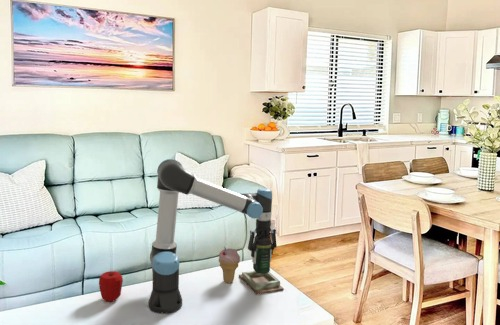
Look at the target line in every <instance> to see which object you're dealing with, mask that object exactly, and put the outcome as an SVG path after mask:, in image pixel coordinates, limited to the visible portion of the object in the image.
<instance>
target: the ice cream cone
mask: <svg viewBox="0 0 500 325" xmlns="http://www.w3.org/2000/svg"><path fill="white" fill-rule="evenodd" d="M238 251H240V249H237V248H236V249H235V248H229V247H228V248H226V247H224V249H222V250H221V251H220V252H219V255H218V262H219V267H220V268H221V270H222V280H223V282H224V283H225V284H232V283H233V282H234V281H235V275H236V274H235V273H236V270H237V268H239V263H240V262H241V256H240V255H239V253H238Z"/></svg>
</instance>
